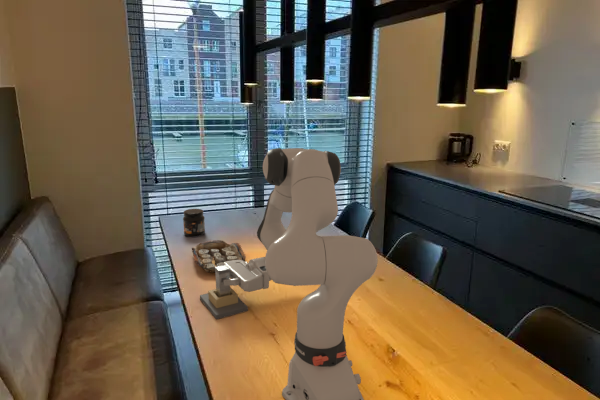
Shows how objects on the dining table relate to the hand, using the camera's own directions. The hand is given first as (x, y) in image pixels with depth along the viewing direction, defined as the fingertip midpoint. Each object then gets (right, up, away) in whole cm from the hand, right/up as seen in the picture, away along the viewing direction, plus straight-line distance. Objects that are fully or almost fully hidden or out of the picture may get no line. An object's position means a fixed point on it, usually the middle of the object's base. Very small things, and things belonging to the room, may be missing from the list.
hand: (219, 279), depth 145 cm
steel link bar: (+1, -8, +2) cm, 8 cm away
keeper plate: (+1, -9, +3) cm, 10 cm away
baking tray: (-8, 0, +39) cm, 40 cm away
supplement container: (-27, +9, +75) cm, 80 cm away
